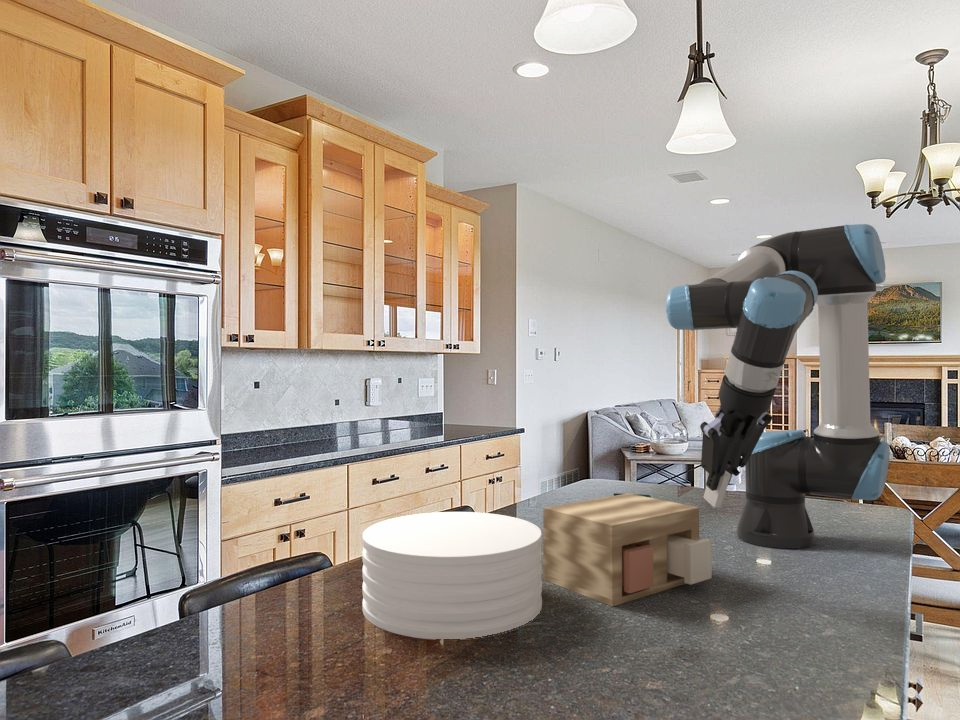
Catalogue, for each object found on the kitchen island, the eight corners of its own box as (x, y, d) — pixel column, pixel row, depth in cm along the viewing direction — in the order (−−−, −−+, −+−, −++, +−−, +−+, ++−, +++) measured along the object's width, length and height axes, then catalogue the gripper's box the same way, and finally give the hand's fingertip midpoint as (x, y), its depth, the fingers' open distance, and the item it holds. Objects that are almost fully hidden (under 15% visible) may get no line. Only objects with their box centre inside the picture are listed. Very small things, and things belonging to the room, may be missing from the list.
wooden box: (699, 579, 115) (699, 507, 115) (612, 606, 102) (612, 525, 102) (628, 557, 128) (628, 493, 128) (543, 579, 115) (543, 507, 115)
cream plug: (711, 578, 110) (711, 539, 110) (690, 584, 107) (690, 545, 107) (631, 554, 124) (631, 520, 124) (611, 559, 121) (610, 524, 121)
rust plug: (653, 586, 106) (653, 546, 106) (629, 593, 103) (629, 552, 103) (577, 561, 120) (577, 525, 120) (554, 566, 117) (554, 530, 117)
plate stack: (578, 603, 104) (578, 530, 104) (446, 659, 84) (446, 569, 84) (456, 566, 124) (456, 504, 124) (326, 604, 104) (326, 531, 104)
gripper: (735, 401, 93) (697, 526, 105) (800, 386, 99) (757, 506, 110) (699, 375, 99) (666, 496, 111) (763, 362, 104) (725, 479, 116)
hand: (712, 501), depth 110 cm, fingers closed
